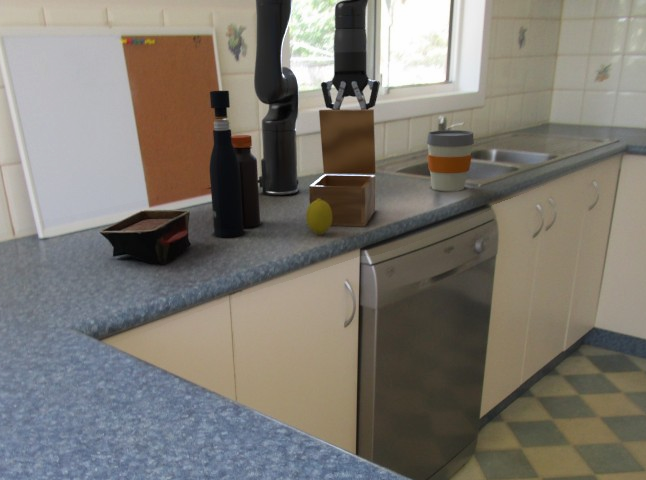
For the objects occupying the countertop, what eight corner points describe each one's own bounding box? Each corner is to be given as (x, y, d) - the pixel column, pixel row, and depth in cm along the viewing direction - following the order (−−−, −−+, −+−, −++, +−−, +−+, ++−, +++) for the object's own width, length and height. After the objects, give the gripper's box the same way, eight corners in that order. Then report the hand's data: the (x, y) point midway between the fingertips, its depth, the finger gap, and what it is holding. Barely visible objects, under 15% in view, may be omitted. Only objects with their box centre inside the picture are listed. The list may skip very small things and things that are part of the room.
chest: (364, 226, 148) (364, 187, 145) (310, 224, 151) (309, 186, 148) (374, 211, 162) (375, 175, 158) (324, 209, 165) (323, 174, 161)
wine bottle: (249, 231, 147) (240, 90, 136) (234, 238, 142) (224, 92, 131) (224, 229, 150) (214, 90, 139) (208, 236, 144) (197, 92, 134)
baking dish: (98, 271, 130) (89, 224, 124) (148, 234, 144) (141, 191, 139) (162, 283, 125) (155, 235, 120) (207, 244, 139) (202, 200, 134)
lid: (373, 110, 149) (376, 103, 153) (318, 110, 152) (323, 103, 157) (375, 174, 158) (378, 165, 162) (323, 173, 161) (328, 164, 165)
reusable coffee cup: (452, 194, 177) (455, 137, 172) (415, 188, 186) (417, 133, 181) (480, 187, 185) (483, 132, 179) (443, 181, 194) (446, 129, 188)
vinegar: (235, 221, 156) (230, 134, 149) (263, 221, 155) (259, 134, 148) (226, 228, 150) (220, 138, 143) (255, 229, 149) (250, 138, 142)
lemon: (322, 240, 139) (322, 202, 136) (301, 236, 142) (300, 199, 139) (337, 234, 143) (337, 197, 140) (316, 230, 146) (316, 194, 143)
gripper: (383, 49, 153) (382, 125, 159) (323, 51, 157) (324, 125, 163) (379, 49, 146) (378, 128, 152) (316, 51, 150) (317, 128, 156)
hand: (350, 126), depth 157 cm, fingers closed on lid, 5 cm apart
